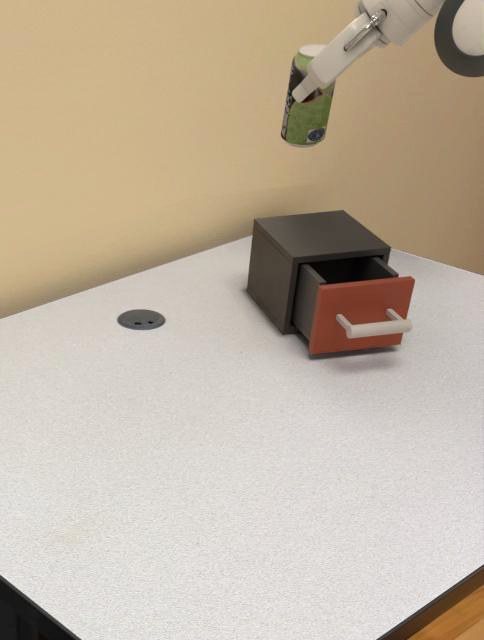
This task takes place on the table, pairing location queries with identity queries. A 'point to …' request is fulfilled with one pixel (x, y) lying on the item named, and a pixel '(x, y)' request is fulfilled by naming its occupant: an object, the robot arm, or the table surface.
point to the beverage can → (306, 104)
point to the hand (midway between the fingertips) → (302, 92)
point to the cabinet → (301, 255)
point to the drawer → (351, 304)
